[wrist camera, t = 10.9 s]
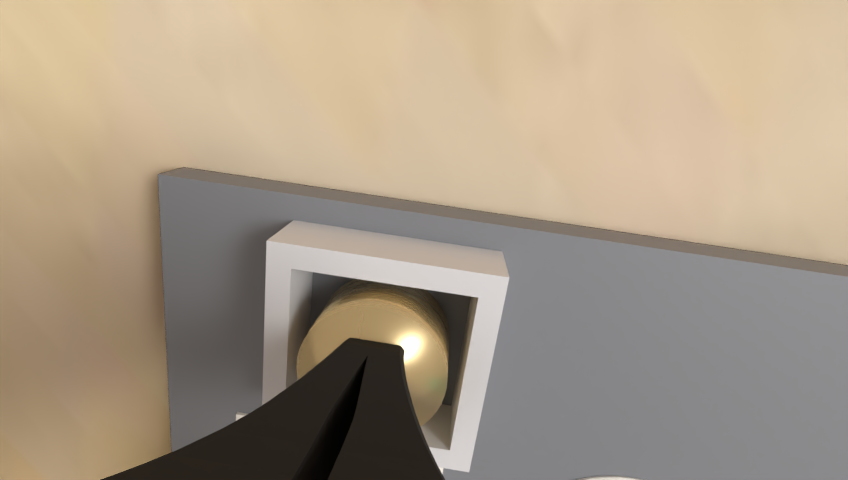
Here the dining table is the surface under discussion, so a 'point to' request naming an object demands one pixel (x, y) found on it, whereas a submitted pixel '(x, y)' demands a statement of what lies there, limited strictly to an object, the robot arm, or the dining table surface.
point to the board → (517, 333)
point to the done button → (387, 335)
